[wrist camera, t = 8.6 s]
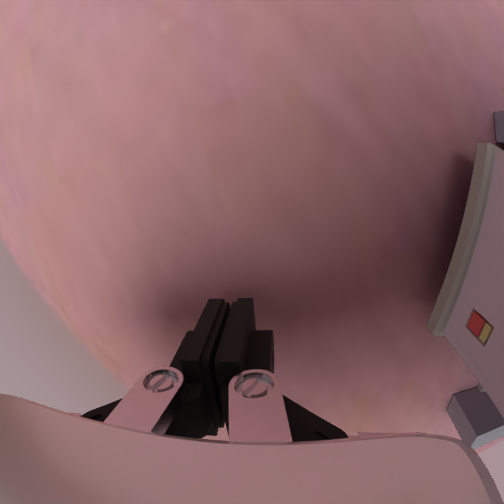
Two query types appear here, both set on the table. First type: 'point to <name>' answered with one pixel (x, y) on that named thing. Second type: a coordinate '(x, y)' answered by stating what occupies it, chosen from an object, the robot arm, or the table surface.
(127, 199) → the table surface
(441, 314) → the toy vehicle
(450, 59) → the table surface
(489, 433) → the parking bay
